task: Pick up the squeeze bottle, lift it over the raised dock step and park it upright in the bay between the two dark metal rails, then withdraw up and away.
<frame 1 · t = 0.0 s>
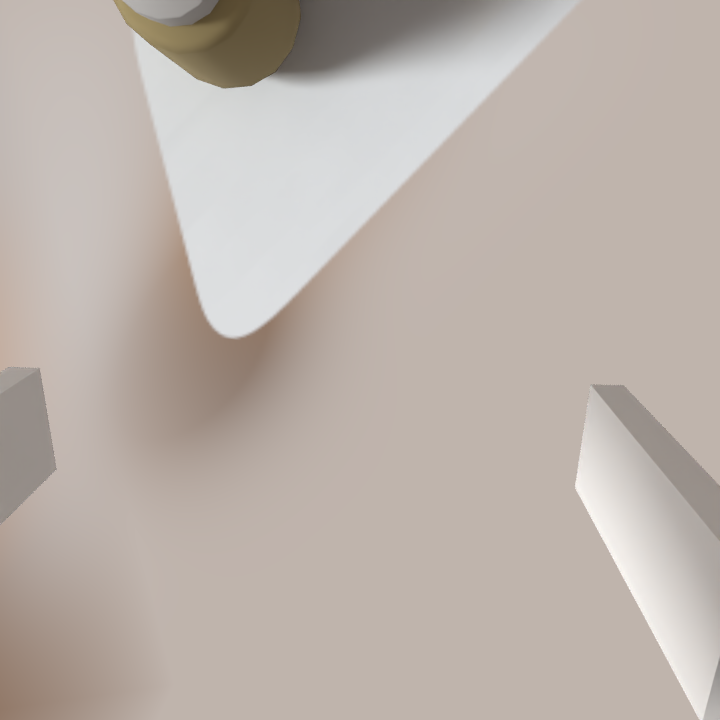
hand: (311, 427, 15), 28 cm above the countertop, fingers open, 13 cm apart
squeeze bottle: (242, 20, 37), on the countertop
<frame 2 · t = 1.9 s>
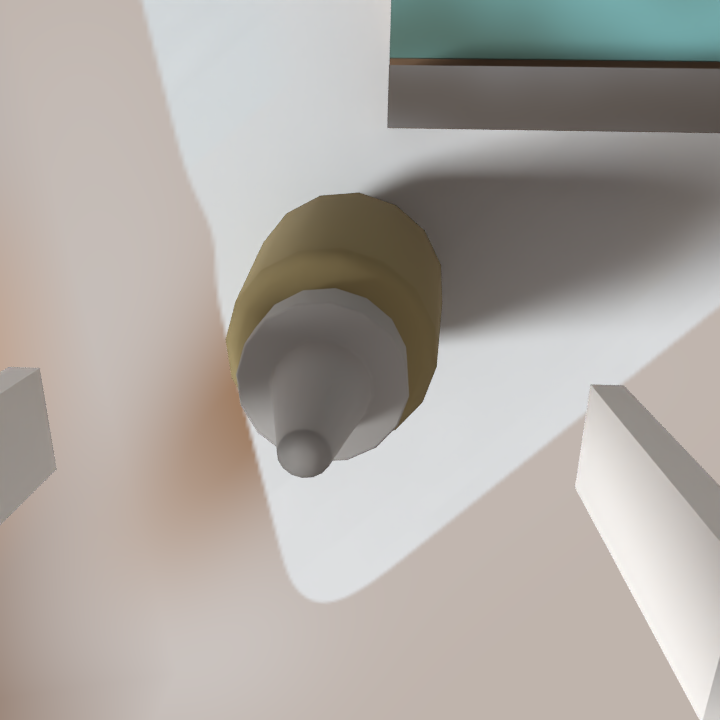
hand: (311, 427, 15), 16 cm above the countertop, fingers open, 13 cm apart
squeeze bottle: (353, 270, 30), on the countertop
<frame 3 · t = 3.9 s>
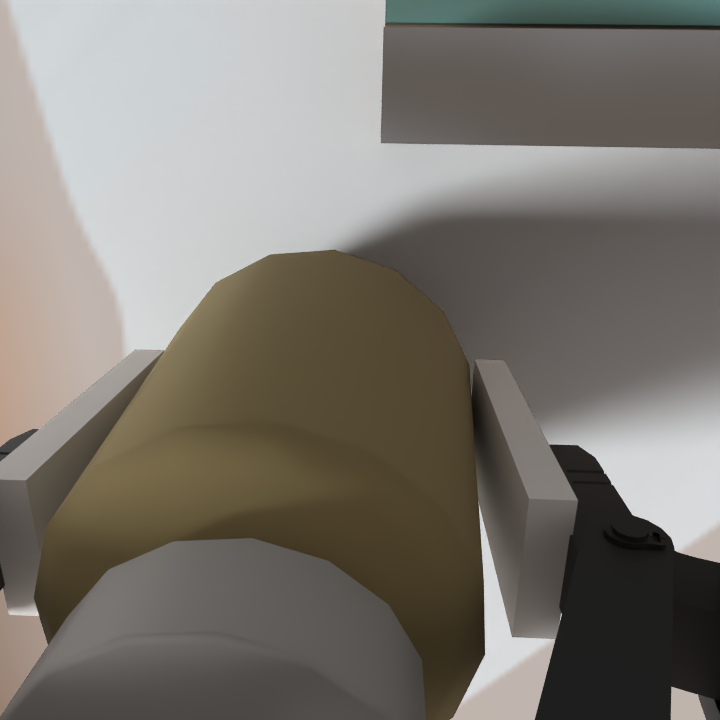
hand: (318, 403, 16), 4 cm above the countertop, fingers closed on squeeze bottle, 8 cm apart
squeeze bottle: (331, 354, 20), on the countertop, touching gripper
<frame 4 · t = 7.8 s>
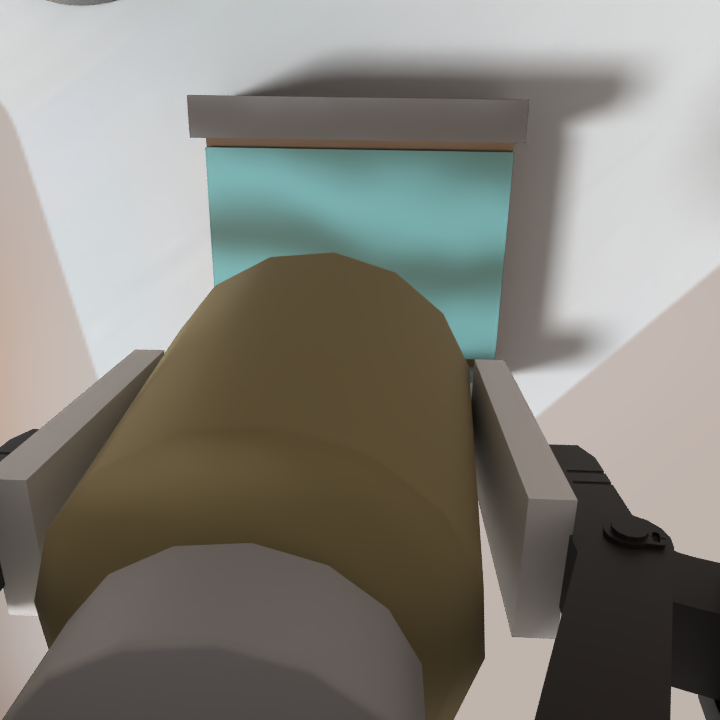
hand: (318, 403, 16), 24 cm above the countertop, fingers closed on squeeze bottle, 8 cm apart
squeeze bottle: (331, 356, 20), point 20 cm above the countertop, touching gripper
dock: (359, 249, 39), on the countertop
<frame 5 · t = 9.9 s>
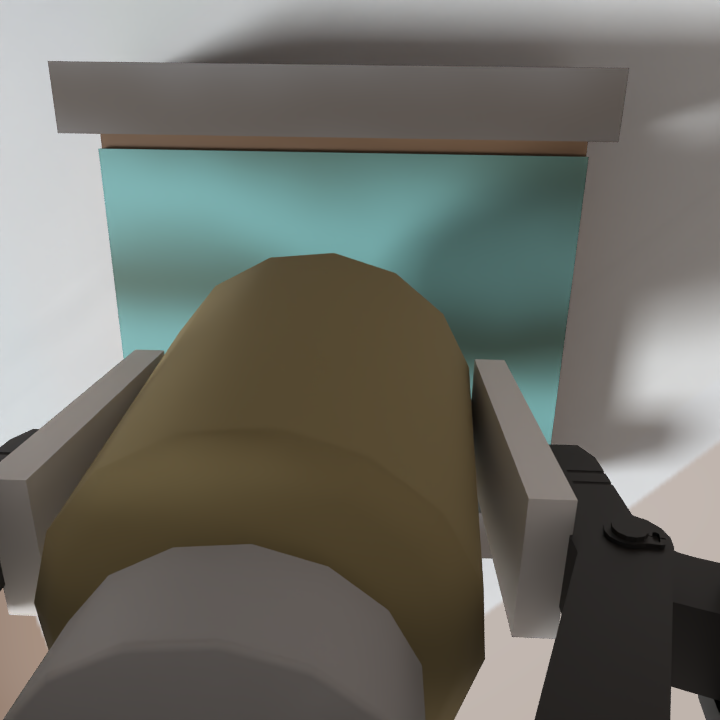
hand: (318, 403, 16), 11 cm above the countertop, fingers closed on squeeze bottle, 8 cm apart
squeeze bottle: (331, 356, 20), point 7 cm above the countertop, touching gripper
dock: (345, 298, 27), on the countertop
when the fingers open (8 cm above the countertop, at t = 11.5 s): squeeze bottle drops 1 cm, resting on dock.
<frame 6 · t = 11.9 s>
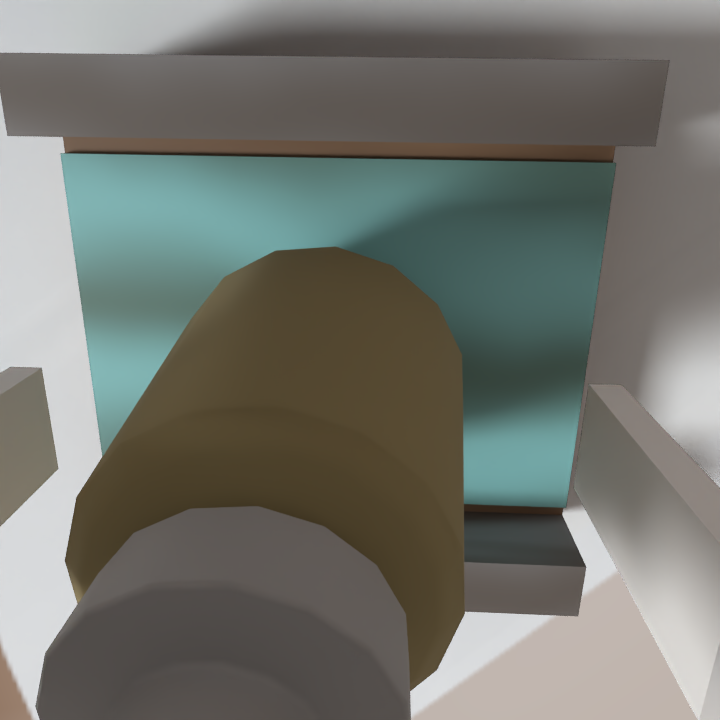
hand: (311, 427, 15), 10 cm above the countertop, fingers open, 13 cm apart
squeeze bottle: (333, 343, 21), point 3 cm above the countertop, touching dock
dock: (340, 318, 24), on the countertop
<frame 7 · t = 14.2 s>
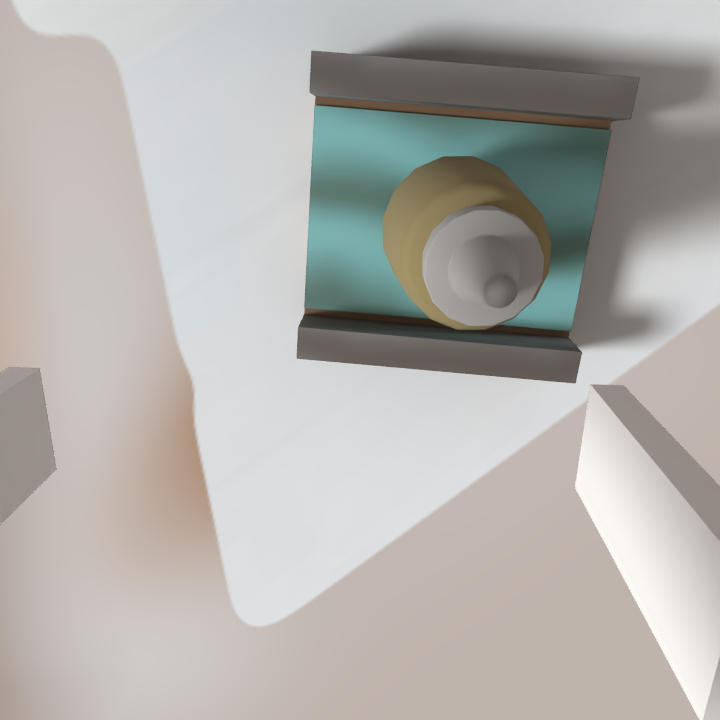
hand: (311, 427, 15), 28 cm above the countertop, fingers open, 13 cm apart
squeeze bottle: (448, 223, 38), point 3 cm above the countertop, touching dock
dock: (444, 217, 41), on the countertop
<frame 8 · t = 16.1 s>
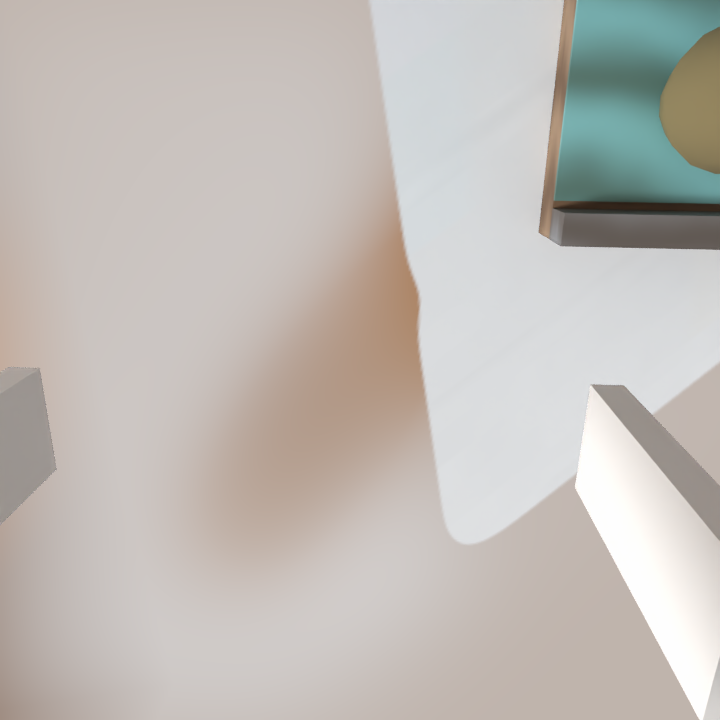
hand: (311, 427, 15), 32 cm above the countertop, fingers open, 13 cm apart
squeeze bottle: (705, 102, 38), point 3 cm above the countertop, touching dock
dock: (683, 105, 41), on the countertop
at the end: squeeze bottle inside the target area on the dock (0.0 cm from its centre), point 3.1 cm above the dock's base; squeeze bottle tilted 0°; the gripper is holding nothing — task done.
